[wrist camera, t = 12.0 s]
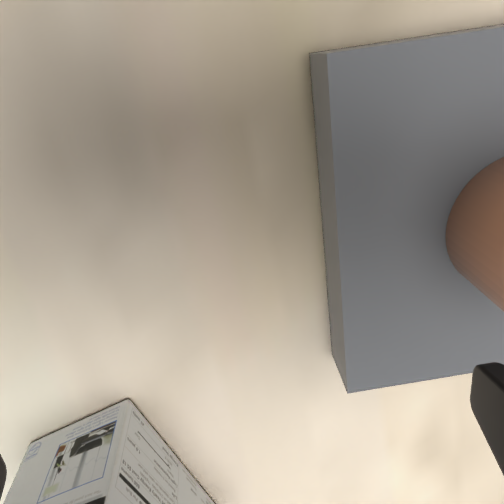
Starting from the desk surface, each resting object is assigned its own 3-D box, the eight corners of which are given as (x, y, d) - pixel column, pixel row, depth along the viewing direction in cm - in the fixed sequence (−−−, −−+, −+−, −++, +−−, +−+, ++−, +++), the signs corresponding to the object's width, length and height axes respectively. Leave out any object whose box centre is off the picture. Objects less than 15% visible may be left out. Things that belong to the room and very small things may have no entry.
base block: (332, 354, 24) (347, 393, 22) (309, 53, 18) (326, 53, 15) (603, 310, 25) (652, 343, 22) (672, -2, 18) (752, -11, 16)
